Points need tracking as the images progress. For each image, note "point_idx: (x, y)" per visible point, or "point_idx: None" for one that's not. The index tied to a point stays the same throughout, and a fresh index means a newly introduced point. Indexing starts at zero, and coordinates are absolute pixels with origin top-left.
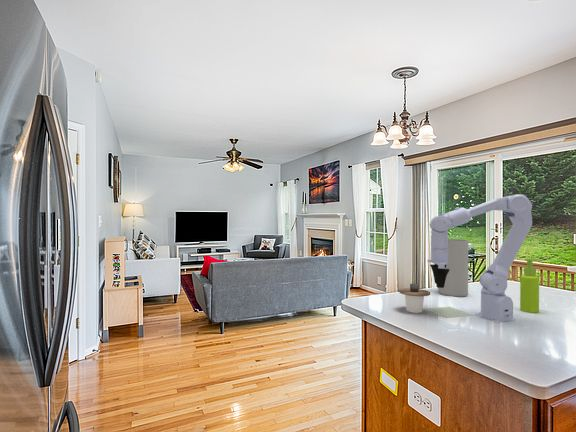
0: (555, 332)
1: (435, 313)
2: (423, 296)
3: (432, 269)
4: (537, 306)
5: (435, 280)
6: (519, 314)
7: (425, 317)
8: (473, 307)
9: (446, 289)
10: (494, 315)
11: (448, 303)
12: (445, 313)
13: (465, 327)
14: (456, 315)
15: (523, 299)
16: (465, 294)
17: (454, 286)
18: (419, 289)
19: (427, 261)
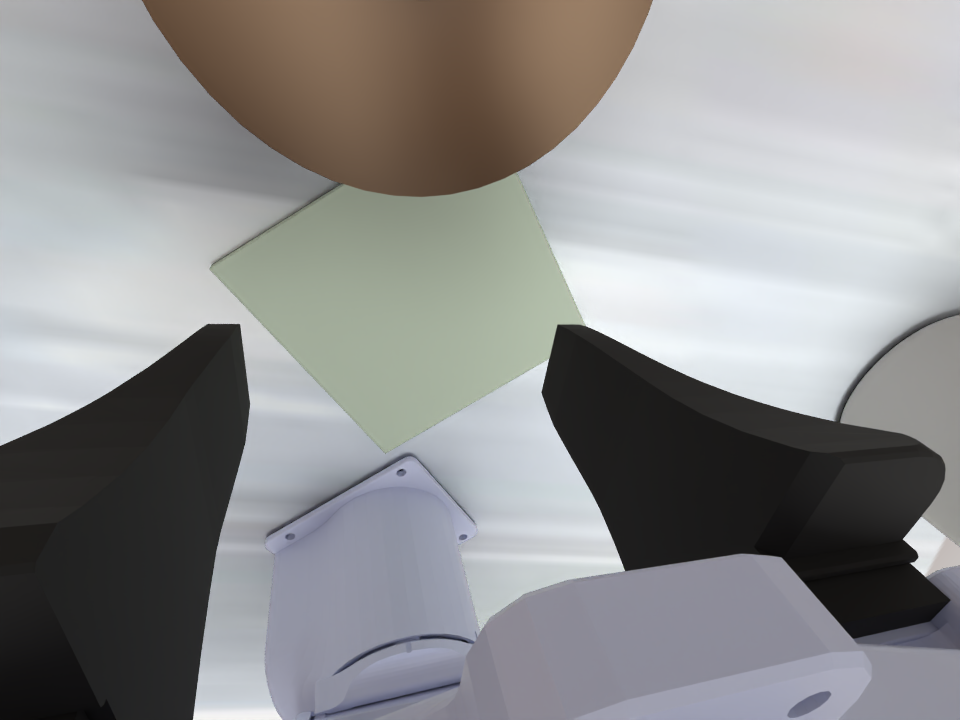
0: (215, 692)
1: (333, 190)
2: None
3: (713, 428)
4: None
5: (575, 350)
6: (494, 610)
7: (163, 54)
8: None
9: (925, 374)
10: (302, 558)
11: (698, 338)
12: (364, 278)
13: (6, 370)
14: (330, 351)
15: None
16: None
17: (913, 435)
18: (587, 58)
19: (726, 562)
